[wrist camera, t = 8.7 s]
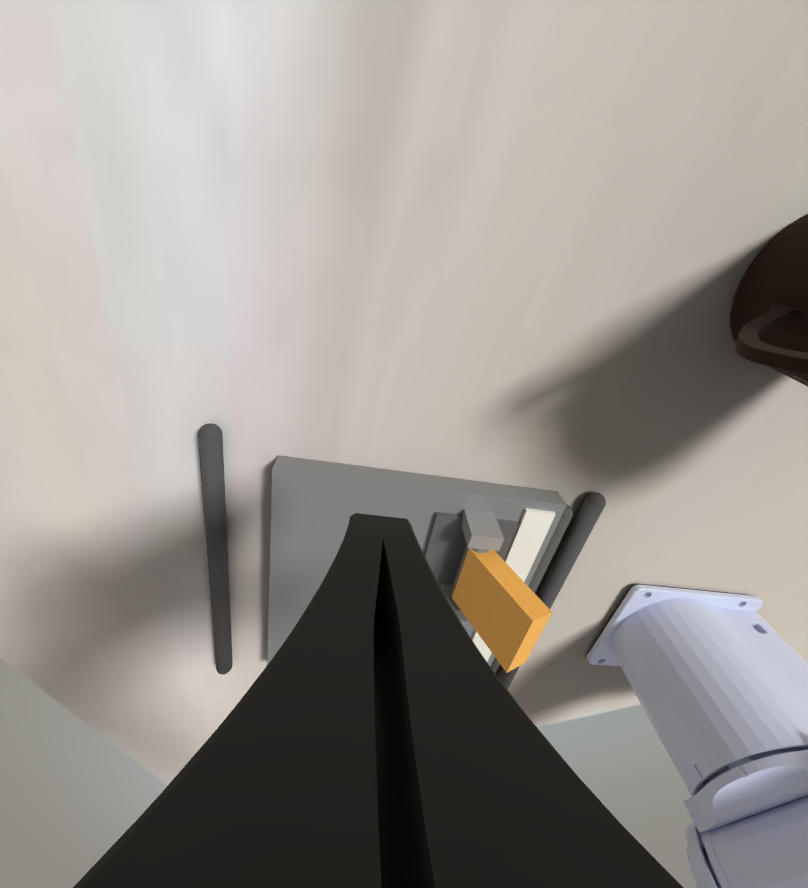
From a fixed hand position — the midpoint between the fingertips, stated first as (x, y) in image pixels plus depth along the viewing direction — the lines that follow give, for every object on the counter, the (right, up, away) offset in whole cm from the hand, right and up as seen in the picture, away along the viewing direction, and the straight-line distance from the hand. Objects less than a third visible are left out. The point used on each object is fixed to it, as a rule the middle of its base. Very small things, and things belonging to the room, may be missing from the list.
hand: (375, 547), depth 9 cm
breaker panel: (0, -6, +15) cm, 16 cm away
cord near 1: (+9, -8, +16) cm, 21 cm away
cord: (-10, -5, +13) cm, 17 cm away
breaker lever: (+4, -4, +11) cm, 12 cm away
